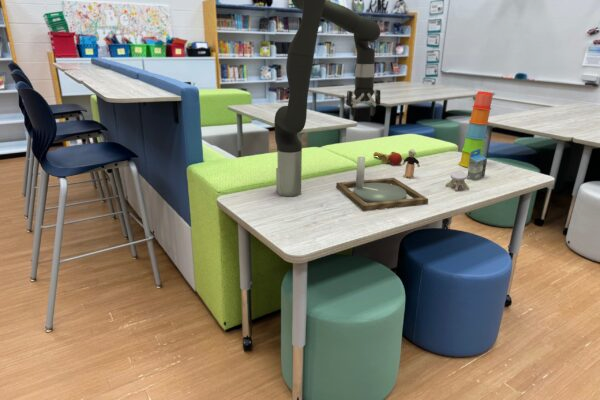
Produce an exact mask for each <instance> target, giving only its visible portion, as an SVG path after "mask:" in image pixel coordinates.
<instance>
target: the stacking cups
mask: <svg viewBox="0 0 600 400" xmlns="http://www.w3.org/2000/svg"><path fill="white" fill-rule="evenodd" d="M493 95H494V94H493V92H491V91H481V90H480V91H479V90H478V91H477V92H476V94H475V98H474V103H473V105H472V109H471V110H472V111H471V114H470V118H469V120H468V126H467V132H466V134H465V135H464V136H465V140H464V145H463V148H461V151H462V152H461V157H460V161H459V162H458V165H459V166H461V167H463V168H468V167H469V159H470V153H471V151H474V150H478V149H481V151H480V154H481V155H482V156H483V154H484V144H485V140H486V139H487V137H486V134H487V128H488V125H489V118H490V112H491V110H492V107H491V106H492V101H493ZM476 153H477V152H475V153H474V154H476Z"/></svg>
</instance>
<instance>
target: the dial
mask: <svg viewBox="0 0 600 400" xmlns="http://www.w3.org/2000/svg"><path fill="white" fill-rule="evenodd" d="M356 159H357V160H356V161H357V162H356V177H355V178H356V179H355V181H356V187H354V188H353V192H354V194H356V195H357V196H358V197H359V198H360V199H362V200H363V201H364V202H365V203H374V202H384V201H393V200H403V199H407V195H408V194H407V193H406V191H405V190H404V189H403V188H401V187H399V186H396V185H392V184H387V183H364V180H365V171H366V169H365V168H366V157H365V156H358V157H357V158H356Z"/></svg>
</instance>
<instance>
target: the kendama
mask: <svg viewBox="0 0 600 400" xmlns="http://www.w3.org/2000/svg"><path fill="white" fill-rule="evenodd" d="M374 156H378V157H381V158H380V159H381V162H382V164H385V165H386V164H388V163H389V164H391V165H393V166H399V165H400V164H402V162H403V161H402V160H403V157H402V154H400V153H399V152H396V151H392V152H390V154H387V153H382V152H378V151H374V153H373V157H374Z"/></svg>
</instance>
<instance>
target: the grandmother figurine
mask: <svg viewBox="0 0 600 400" xmlns="http://www.w3.org/2000/svg"><path fill="white" fill-rule="evenodd" d="M416 155H417V152H416V150H415V149H414V148H412V149H409V150H408V156H406V157H405V158H404V160H403V161H402V162H401V164H402V165H403V166H404V165H405V164H406V165H405V171H404V175H402V177H403V178H408V179H414V173H415V165H417V168H420V166H421V165H420V161H419V160H418V159H417V158H416V157H415V156H416Z"/></svg>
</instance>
